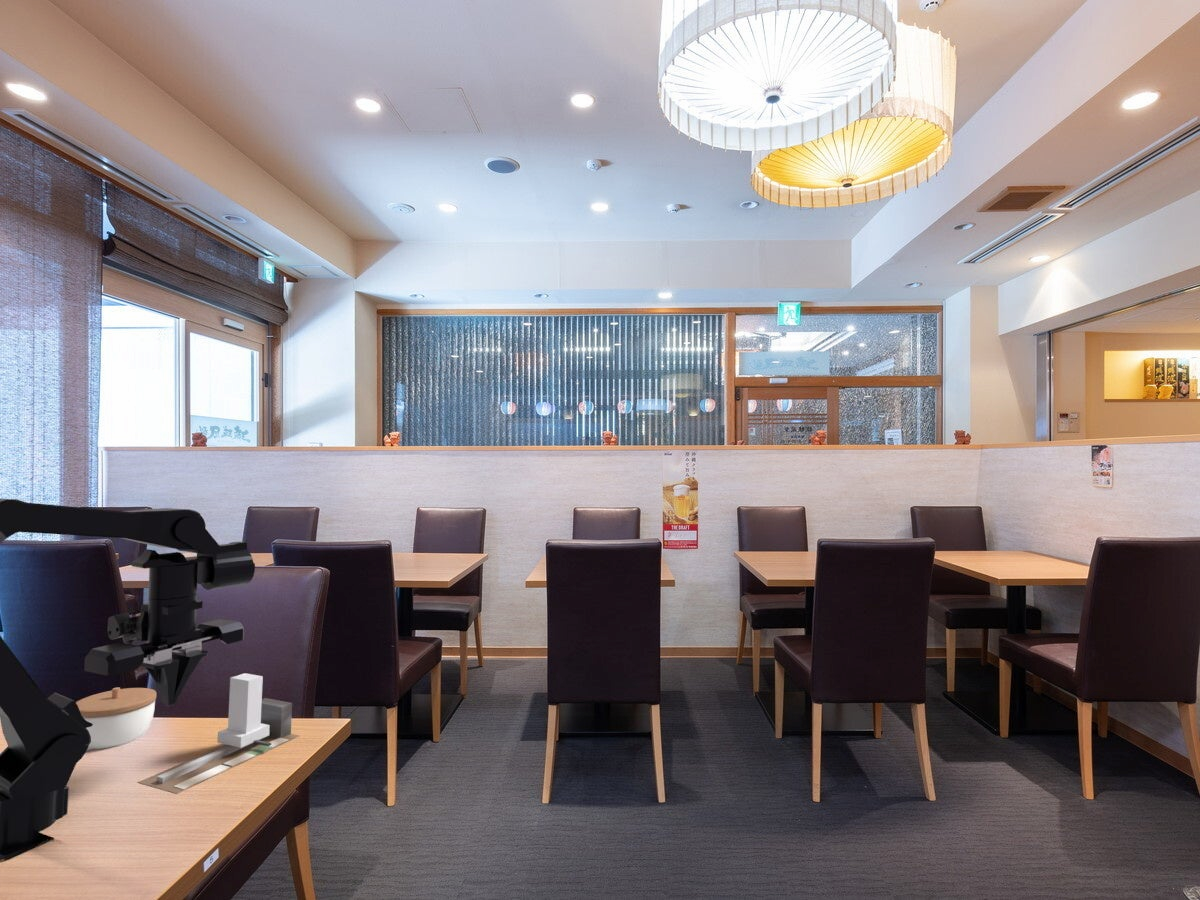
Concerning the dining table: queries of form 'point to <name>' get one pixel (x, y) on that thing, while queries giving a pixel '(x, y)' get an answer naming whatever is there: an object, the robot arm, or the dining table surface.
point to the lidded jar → (118, 715)
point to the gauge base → (227, 752)
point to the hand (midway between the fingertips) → (169, 705)
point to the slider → (245, 713)
